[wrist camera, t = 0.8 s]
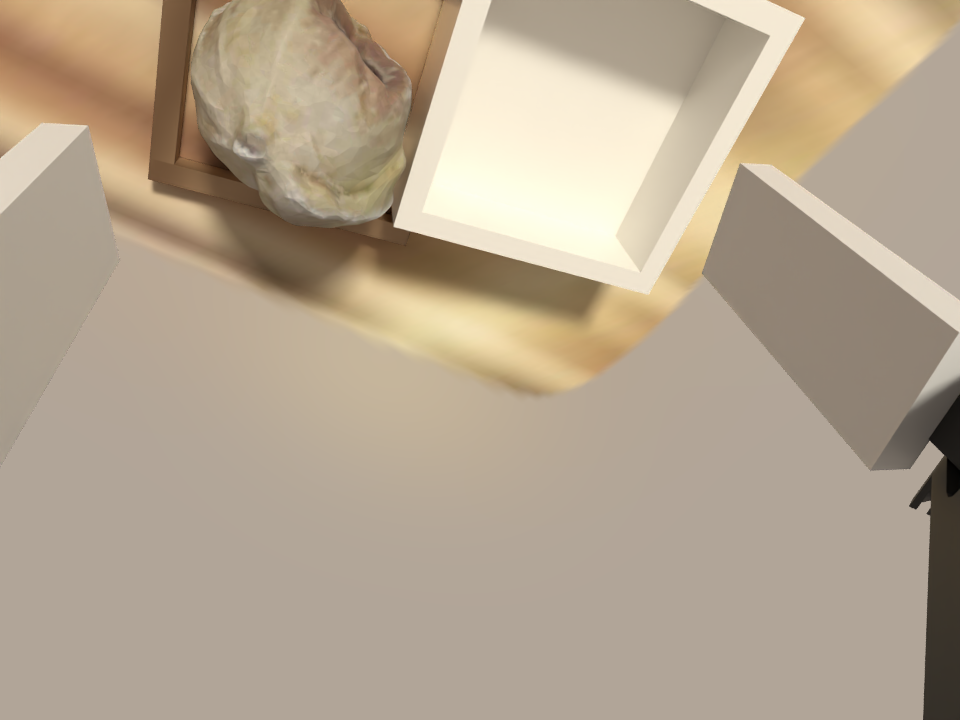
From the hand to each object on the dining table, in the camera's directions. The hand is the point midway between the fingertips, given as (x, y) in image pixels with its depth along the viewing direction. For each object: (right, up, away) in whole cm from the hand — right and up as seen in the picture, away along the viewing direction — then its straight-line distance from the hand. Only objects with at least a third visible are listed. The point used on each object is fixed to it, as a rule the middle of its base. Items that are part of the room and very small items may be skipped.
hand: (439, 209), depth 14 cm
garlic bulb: (-6, +10, +15) cm, 19 cm away
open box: (+5, +9, +17) cm, 20 cm away
